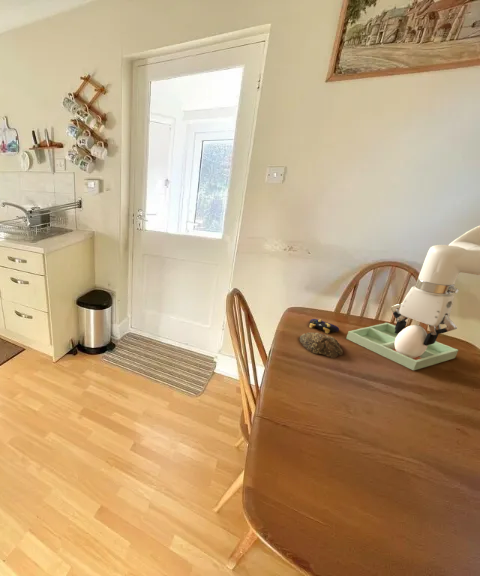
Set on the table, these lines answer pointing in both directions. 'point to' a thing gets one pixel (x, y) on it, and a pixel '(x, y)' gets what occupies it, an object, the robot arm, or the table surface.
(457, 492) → the table surface
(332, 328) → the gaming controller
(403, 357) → the divided tray
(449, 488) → the table surface
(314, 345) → the brown rock
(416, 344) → the egg
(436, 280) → the robot arm
